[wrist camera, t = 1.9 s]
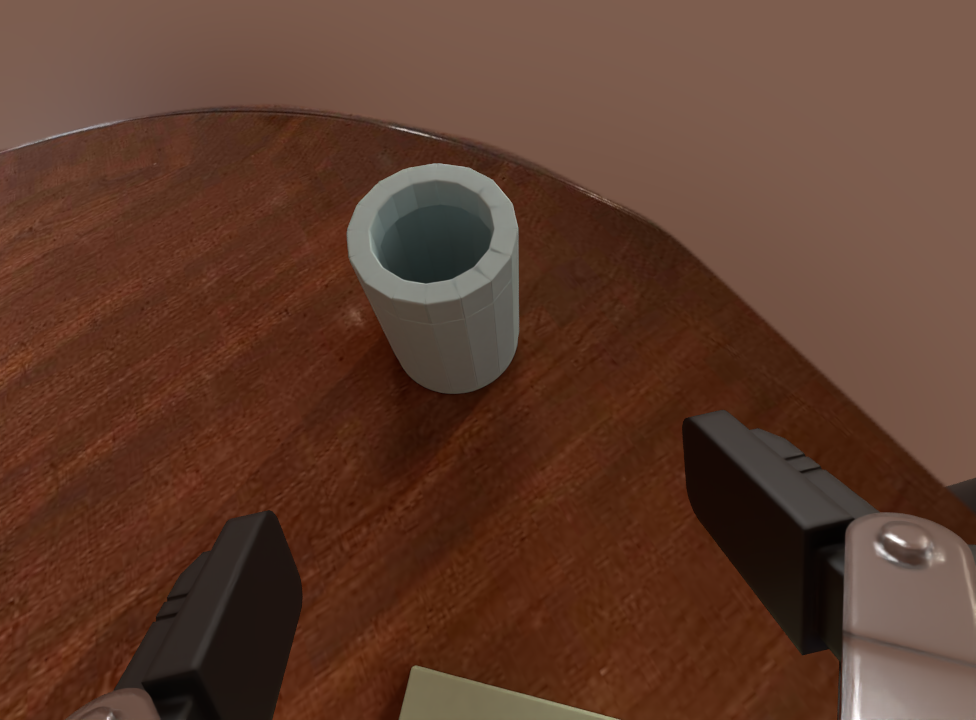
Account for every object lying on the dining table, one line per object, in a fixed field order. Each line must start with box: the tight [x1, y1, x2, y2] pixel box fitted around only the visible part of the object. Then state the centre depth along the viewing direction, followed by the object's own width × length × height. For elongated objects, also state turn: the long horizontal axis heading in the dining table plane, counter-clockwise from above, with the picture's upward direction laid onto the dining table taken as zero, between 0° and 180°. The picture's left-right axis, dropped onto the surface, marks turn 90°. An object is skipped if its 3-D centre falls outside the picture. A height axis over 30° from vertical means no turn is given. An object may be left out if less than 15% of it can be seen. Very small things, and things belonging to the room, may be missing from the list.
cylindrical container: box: [347, 164, 519, 394], centre depth 25 cm, size 6×6×9 cm
